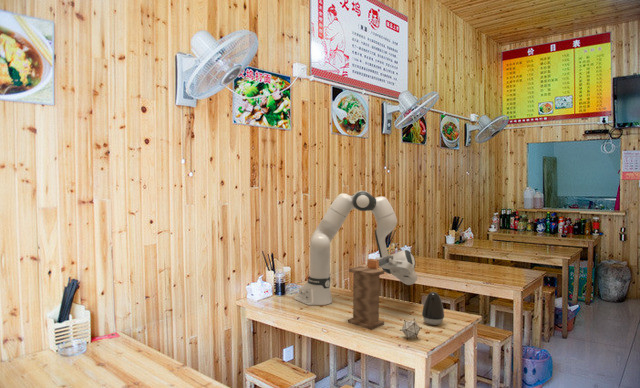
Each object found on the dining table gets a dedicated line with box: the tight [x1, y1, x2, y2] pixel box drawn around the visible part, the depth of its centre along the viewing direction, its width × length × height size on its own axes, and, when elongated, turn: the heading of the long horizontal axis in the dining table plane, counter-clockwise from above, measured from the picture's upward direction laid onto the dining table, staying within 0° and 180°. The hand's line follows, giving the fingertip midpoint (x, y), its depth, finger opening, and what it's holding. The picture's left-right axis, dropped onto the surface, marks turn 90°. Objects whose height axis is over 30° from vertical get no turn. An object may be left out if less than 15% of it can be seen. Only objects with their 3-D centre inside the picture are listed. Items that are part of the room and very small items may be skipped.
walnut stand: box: [347, 265, 385, 331], centre depth 206 cm, size 14×10×26 cm
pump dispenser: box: [421, 291, 445, 326], centre depth 208 cm, size 10×10×15 cm
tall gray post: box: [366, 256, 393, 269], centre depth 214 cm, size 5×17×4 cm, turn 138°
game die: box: [399, 317, 423, 341], centre depth 189 cm, size 9×8×10 cm
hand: (385, 259), depth 217 cm, fingers closed on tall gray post, 2 cm apart
